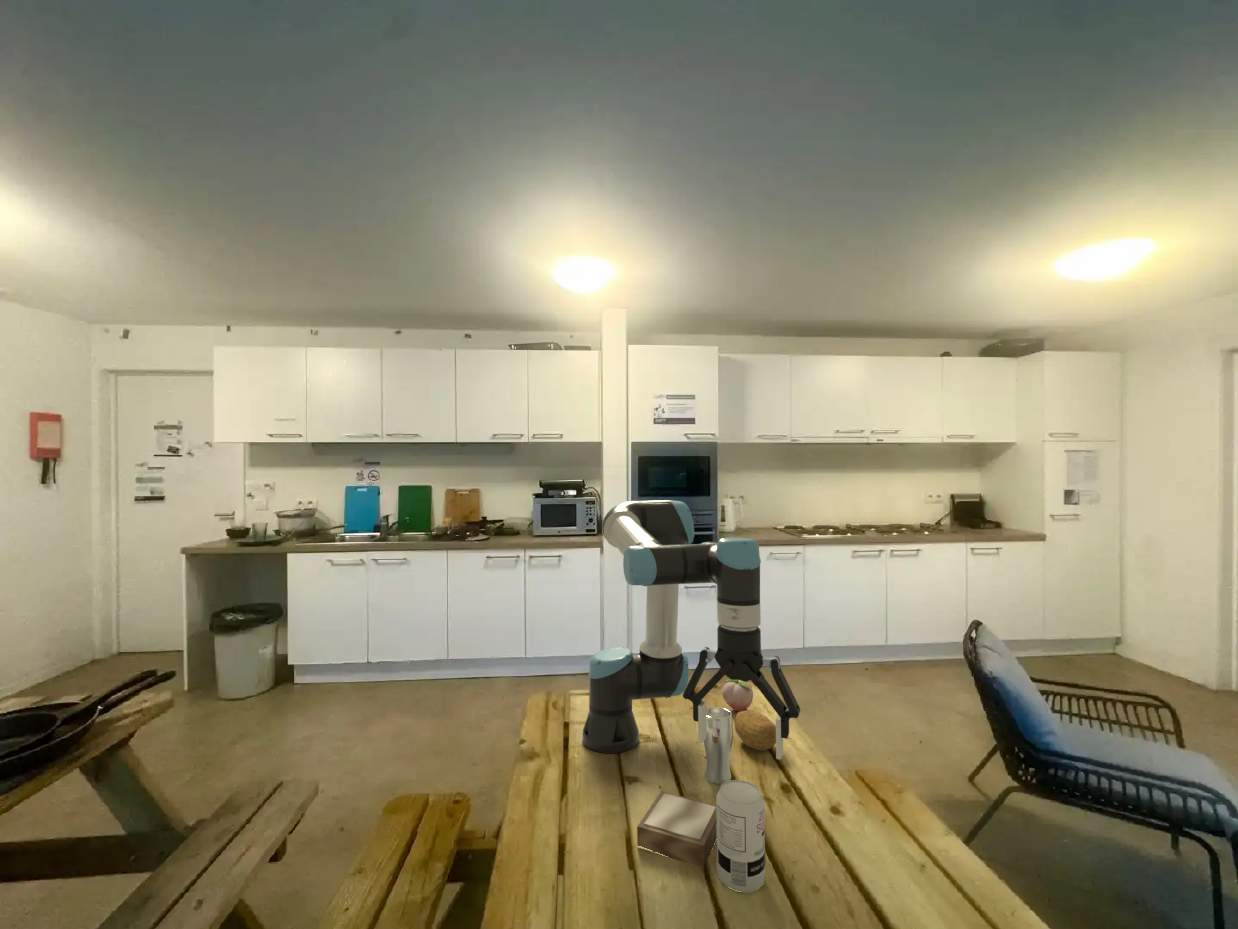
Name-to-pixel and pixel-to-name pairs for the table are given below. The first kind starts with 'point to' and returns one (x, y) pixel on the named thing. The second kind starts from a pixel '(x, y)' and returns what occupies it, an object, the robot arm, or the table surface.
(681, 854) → the base
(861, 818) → the table surface
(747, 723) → the potato
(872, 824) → the table surface
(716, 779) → the metal tumbler
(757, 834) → the supplement can
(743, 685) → the decorative fruit
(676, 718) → the table surface
